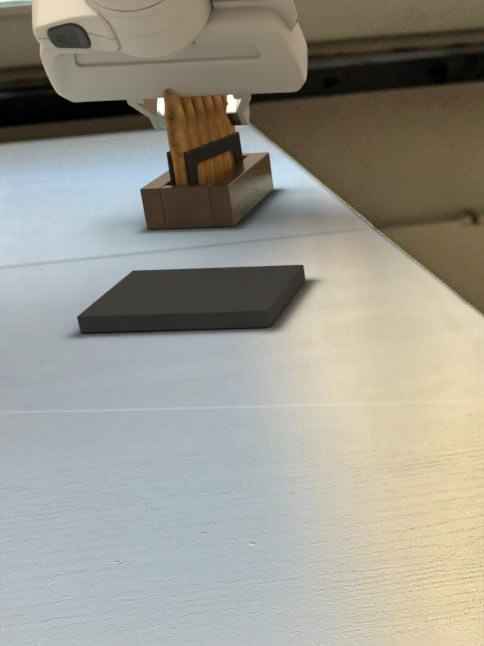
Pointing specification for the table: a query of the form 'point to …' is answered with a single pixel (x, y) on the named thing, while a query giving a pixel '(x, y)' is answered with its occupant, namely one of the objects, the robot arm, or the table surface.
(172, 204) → the bullet clip holder
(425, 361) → the table surface
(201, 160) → the stripper clip of bullets
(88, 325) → the rubber mat
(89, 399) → the table surface
